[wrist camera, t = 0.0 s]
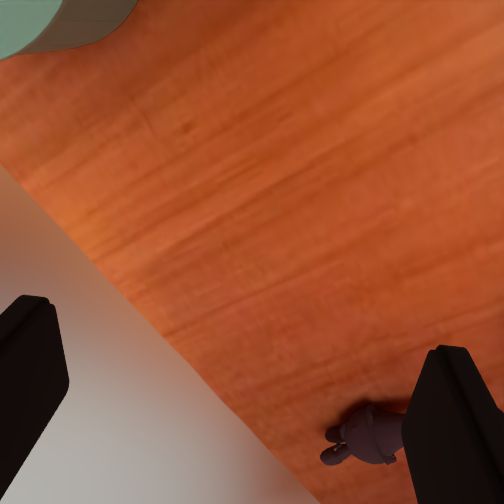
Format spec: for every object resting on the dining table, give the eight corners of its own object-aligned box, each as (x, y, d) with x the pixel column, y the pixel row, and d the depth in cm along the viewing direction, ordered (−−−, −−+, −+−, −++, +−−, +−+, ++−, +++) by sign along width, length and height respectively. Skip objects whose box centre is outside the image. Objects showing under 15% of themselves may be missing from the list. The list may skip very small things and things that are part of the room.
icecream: (425, 413, 45) (304, 443, 51) (455, 467, 46) (332, 491, 52) (421, 376, 51) (314, 407, 57) (447, 424, 52) (338, 450, 58)
